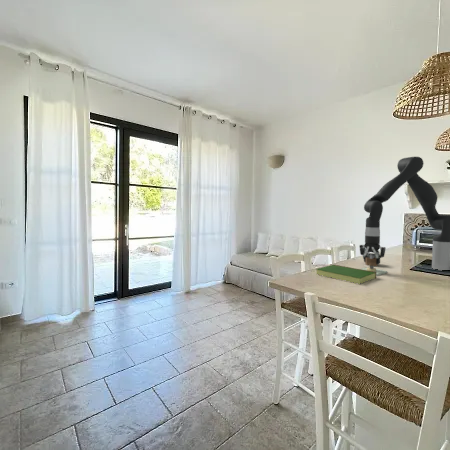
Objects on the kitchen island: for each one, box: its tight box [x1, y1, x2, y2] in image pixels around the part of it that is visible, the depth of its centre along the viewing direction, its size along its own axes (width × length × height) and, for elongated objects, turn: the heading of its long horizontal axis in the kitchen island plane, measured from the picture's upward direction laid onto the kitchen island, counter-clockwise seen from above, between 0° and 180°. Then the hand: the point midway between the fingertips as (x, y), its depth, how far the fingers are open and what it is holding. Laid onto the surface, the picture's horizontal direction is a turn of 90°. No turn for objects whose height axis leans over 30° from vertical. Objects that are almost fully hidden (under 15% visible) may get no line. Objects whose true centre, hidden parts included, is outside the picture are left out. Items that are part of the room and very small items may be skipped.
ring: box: [364, 257, 379, 267], centre depth 147 cm, size 6×6×4 cm
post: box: [360, 253, 388, 277], centre depth 147 cm, size 12×12×11 cm
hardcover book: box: [315, 264, 377, 285], centre depth 139 cm, size 25×19×4 cm
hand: (371, 263), depth 147 cm, fingers closed on ring, 6 cm apart
